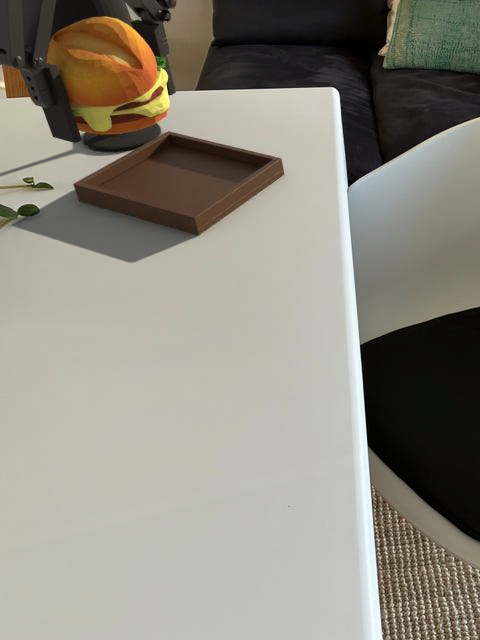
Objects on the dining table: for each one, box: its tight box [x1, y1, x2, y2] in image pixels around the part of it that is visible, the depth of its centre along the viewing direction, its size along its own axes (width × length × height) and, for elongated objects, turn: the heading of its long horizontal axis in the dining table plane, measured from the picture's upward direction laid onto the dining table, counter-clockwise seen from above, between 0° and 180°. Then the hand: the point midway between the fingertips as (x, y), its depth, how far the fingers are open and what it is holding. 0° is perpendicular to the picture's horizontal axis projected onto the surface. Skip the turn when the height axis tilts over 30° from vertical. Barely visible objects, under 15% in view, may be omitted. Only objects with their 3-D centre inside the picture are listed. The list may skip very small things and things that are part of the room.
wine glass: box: [50, 0, 162, 153], centre depth 103 cm, size 10×10×20 cm
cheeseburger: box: [47, 16, 171, 134], centre depth 70 cm, size 10×11×10 cm
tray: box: [72, 130, 285, 236], centre depth 97 cm, size 19×17×2 cm
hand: (117, 114), depth 72 cm, fingers closed on cheeseburger, 11 cm apart
